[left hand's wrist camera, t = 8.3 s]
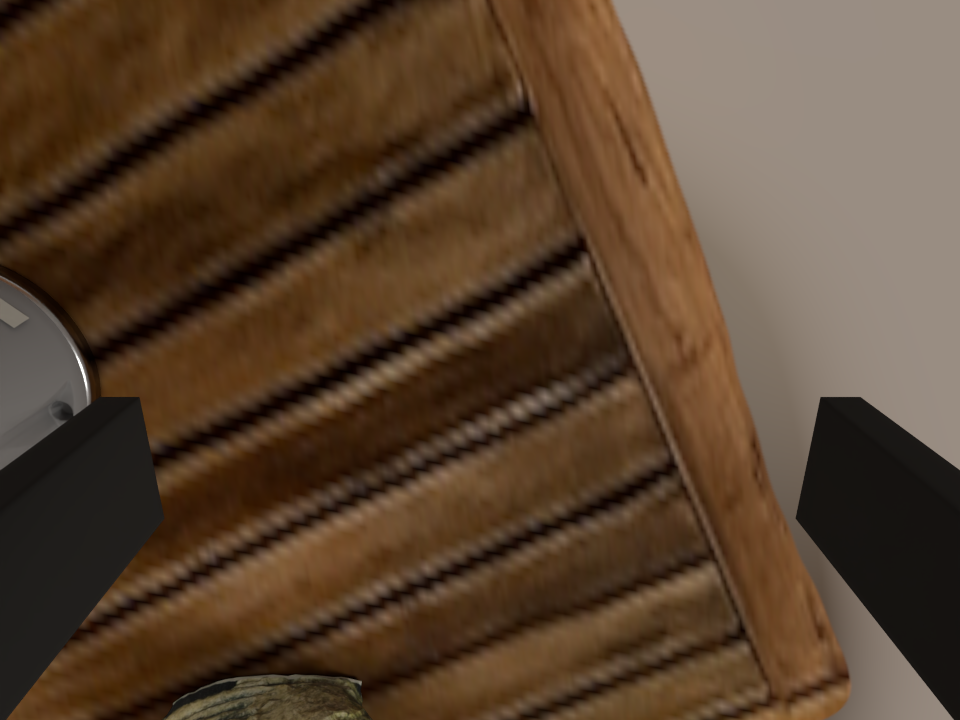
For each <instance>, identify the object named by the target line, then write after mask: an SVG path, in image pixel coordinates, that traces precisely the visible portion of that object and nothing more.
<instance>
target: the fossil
mask: <svg viewBox="0 0 960 720" xmlns="http://www.w3.org/2000/svg"><path fill="white" fill-rule="evenodd" d="M361 683H362V681H358V680H354V679H350V678H345V677H328V676H318V675H296V674H295V675H291V676H282V675H261V676H248V677H238V678H231V679H225V680H221V681H218V682H215V683H213V684H210V685H207V686H205V687H202V688H200V689H198V690H197V691H195V692H192V693H188V694H186V695H184V696H182V697H181V698H180V699H178V700H177V701H175V702H174V703H173V706H172V708H171V710H170V711H169V713H168V714H167V716H166V717H164V718H163V719H162V720H372V719H371V718H370V716H369V715H368V714H367V712H366V711H365V709H364V708H363V707H362V701H363V700H362V695H361V691H360V689H361Z"/></svg>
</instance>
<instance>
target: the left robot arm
mask: <svg viewBox="0 0 960 720" xmlns="http://www.w3.org/2000/svg"><path fill="white" fill-rule="evenodd" d="M163 519H164V515H163V510H162V505H161V500H160V495H159V490H158V485H157V481H156V476H155V471H154V466H153V461H152V456H151V451H150V446H149V442H148V437H147V432H146V427H145V422H144V417H143V412H142V408H141V403H140V398H139V397H100V380H99V374H98V370H97V366H96V363H95V360H94V357H93V354H92V352H91V350H90V347H89V345H88V343H87V341H86V340H85V338H84V336H83V334H82V333H81V331H80V330H79V328H78V327H77V325H76V324H75V322H74V321H73V320H72V319H71V317H70V316H69V315H68V314H67V313H66V311H65V310H64V309H63V308H62V307H61V306H60V305H59V304H58V303H57V302H56V301H55V300H54V299H53V298H51V297H50V296H49V295H48V294H47V293H45V292H44V291H43V290H42V289H40V288H39V287H38V286H36V285H35V284H33V283H32V282H30V281H29V280H27V279H25V278H24V277H22V276H20V275H18V274H17V273H15V272H13V271H10V270H8V269H6V268H4V267H1V266H0V720H6V719H7V718H8V717H9V715H10V714H11V713H12V711H13V710H14V709H15V708H16V706H17V705H18V704H19V703H20V701H21V700H22V699H23V697H24V696H25V695H26V694H27V692H28V691H29V690H30V689H31V687H32V686H33V685H34V683H35V682H36V681H37V680H38V678H39V677H40V676H41V675H42V673H43V672H44V671H45V669H46V668H47V667H48V666H49V664H50V663H51V662H52V661H53V659H54V658H55V657H56V655H57V654H58V653H59V652H60V650H61V649H62V648H63V647H64V645H65V644H66V643H67V642H68V640H69V639H70V638H71V636H72V635H73V634H74V633H75V631H76V630H77V629H78V628H79V626H80V625H81V624H82V622H83V621H84V620H85V619H86V617H87V616H88V615H89V614H90V612H91V611H92V610H93V608H94V607H95V606H96V605H97V603H98V602H99V601H100V600H101V598H102V597H103V596H104V594H105V593H106V592H107V591H108V589H109V588H110V587H111V586H112V584H113V583H114V582H115V580H116V579H117V578H118V577H119V575H120V574H121V573H122V572H123V570H124V569H125V568H126V567H127V565H128V564H129V563H130V561H131V560H132V559H133V558H134V556H135V555H136V554H137V553H138V551H139V550H140V549H141V547H142V546H143V545H144V544H145V542H146V541H147V540H148V539H149V537H150V536H151V535H152V533H153V532H154V531H155V530H156V528H157V527H158V526H159V525H160V523H161V522H162V521H163ZM796 519H797V521H798V522H799V523H800V525H801V526H802V527H803V528H804V530H805V531H806V532H807V533H808V535H809V536H810V537H811V539H812V540H813V541H814V542H815V544H816V545H817V546H818V547H819V549H820V550H821V551H822V552H823V554H824V555H825V556H826V558H827V559H828V560H829V561H830V563H831V564H832V565H833V567H834V568H835V569H836V570H837V572H838V573H839V574H840V575H841V577H842V578H843V579H844V580H845V582H846V583H847V584H848V586H849V587H850V588H851V589H852V591H853V592H854V593H855V594H856V596H857V597H858V598H859V600H860V601H861V602H862V603H863V605H864V606H865V607H866V608H867V610H868V611H869V612H870V614H871V615H872V616H873V617H874V619H875V620H876V621H877V622H878V624H879V625H880V626H881V628H882V629H883V630H884V631H885V633H886V634H887V635H888V636H889V638H890V639H891V640H892V642H893V643H894V644H895V645H896V647H897V648H898V649H899V650H900V652H901V653H902V654H903V655H904V657H905V658H906V659H907V661H908V662H909V663H910V664H911V666H912V667H913V668H914V669H915V671H916V672H917V673H918V675H919V676H920V677H921V678H922V680H923V681H924V682H925V683H926V685H927V686H928V687H929V688H930V690H931V691H932V692H933V694H934V695H935V696H936V697H937V699H938V700H939V701H940V703H941V704H942V705H943V706H944V708H945V709H946V710H947V711H948V713H949V714H950V715H951V717H952V718H953V719H954V720H960V470H959V469H957V468H956V467H955V466H953V465H952V464H951V463H949V462H948V461H946V460H945V459H944V458H942V457H941V456H940V455H938V454H937V453H936V452H934V451H933V450H932V449H930V448H929V447H927V446H926V445H925V444H923V443H922V442H921V441H919V440H918V439H917V438H915V437H914V436H913V435H911V434H910V433H908V432H907V431H906V430H904V429H903V428H902V427H900V426H899V425H898V424H896V423H895V422H893V421H892V420H891V419H889V418H888V417H887V416H885V415H884V414H883V413H881V412H880V411H879V410H877V409H876V408H874V407H873V406H872V405H870V404H869V403H868V402H866V401H865V400H864V399H862V398H861V397H821V398H820V403H819V408H818V412H817V417H816V422H815V427H814V432H813V437H812V442H811V446H810V451H809V456H808V461H807V466H806V471H805V476H804V481H803V486H802V490H801V495H800V500H799V505H798V510H797V515H796Z"/></svg>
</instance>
